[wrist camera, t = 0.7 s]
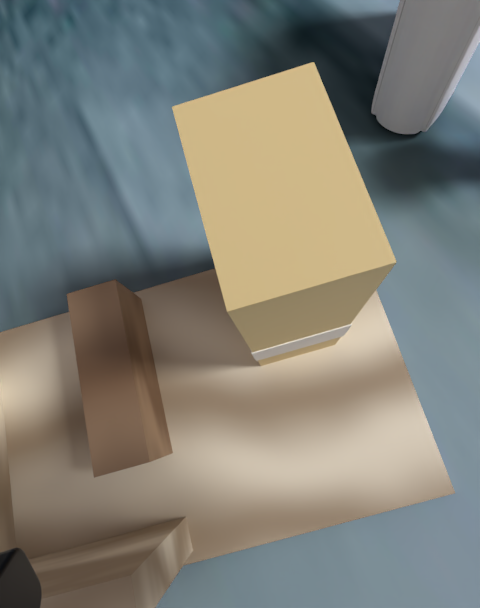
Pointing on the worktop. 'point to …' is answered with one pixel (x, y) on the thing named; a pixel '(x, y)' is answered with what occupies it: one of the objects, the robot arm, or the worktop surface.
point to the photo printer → (424, 61)
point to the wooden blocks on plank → (192, 439)
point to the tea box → (283, 212)
